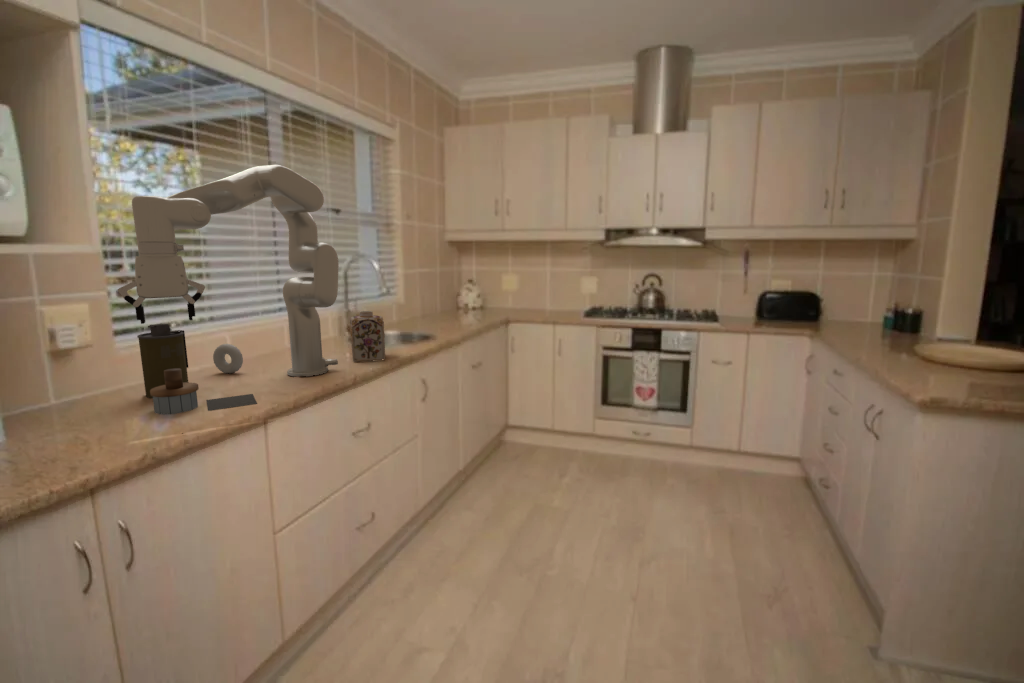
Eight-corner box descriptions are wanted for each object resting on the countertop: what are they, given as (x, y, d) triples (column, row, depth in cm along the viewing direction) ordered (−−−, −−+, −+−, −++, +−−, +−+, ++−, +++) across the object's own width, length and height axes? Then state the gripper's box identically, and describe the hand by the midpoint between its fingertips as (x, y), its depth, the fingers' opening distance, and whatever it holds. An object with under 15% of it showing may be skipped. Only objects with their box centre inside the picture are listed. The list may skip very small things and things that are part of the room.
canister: (160, 402, 131) (150, 328, 128) (136, 397, 135) (127, 325, 132) (200, 392, 141) (192, 322, 137) (177, 388, 145) (169, 320, 142)
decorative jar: (352, 362, 180) (349, 313, 177) (351, 356, 191) (349, 310, 188) (386, 360, 184) (384, 312, 181) (383, 354, 195) (381, 309, 191)
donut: (212, 374, 162) (208, 344, 161) (219, 371, 166) (216, 342, 164) (239, 375, 161) (236, 345, 159) (246, 372, 164) (244, 343, 162)
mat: (252, 395, 138) (252, 393, 137) (257, 405, 128) (257, 403, 128) (206, 402, 132) (206, 399, 131) (208, 413, 123) (207, 410, 122)
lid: (198, 384, 130) (195, 363, 129) (199, 393, 122) (196, 371, 121) (151, 389, 125) (148, 368, 124) (149, 399, 117) (146, 376, 116)
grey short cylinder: (197, 403, 131) (195, 385, 130) (198, 412, 123) (196, 392, 122) (156, 409, 126) (153, 389, 125) (154, 418, 118) (151, 398, 117)
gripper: (200, 249, 125) (208, 316, 128) (113, 250, 116) (124, 322, 119) (201, 250, 119) (209, 320, 122) (109, 250, 110) (121, 326, 113)
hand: (167, 321), depth 121 cm, fingers open, 9 cm apart
